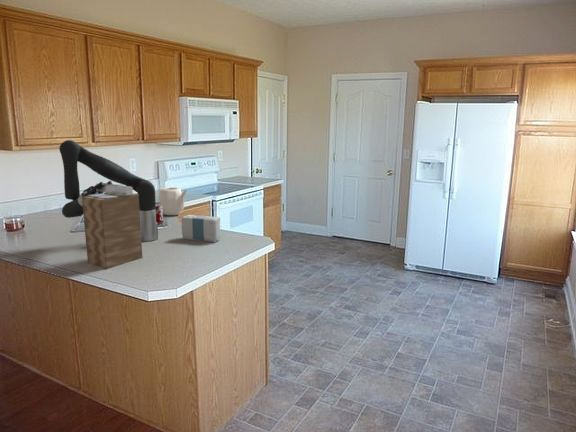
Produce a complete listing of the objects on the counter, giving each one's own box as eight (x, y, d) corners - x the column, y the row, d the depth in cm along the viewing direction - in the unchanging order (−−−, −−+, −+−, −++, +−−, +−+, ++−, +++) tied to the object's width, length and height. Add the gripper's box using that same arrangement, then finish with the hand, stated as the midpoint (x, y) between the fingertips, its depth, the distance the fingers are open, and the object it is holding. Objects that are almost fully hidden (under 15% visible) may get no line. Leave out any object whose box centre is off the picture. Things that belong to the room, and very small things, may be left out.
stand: (87, 263, 207) (81, 196, 200) (123, 253, 224) (119, 190, 217) (107, 268, 200) (101, 199, 193) (142, 257, 217) (138, 193, 210)
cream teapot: (179, 218, 303) (178, 191, 299) (152, 214, 316) (150, 187, 312) (195, 214, 316) (194, 188, 312) (168, 210, 329) (167, 185, 325)
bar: (96, 190, 215) (95, 183, 214) (102, 190, 218) (102, 182, 217) (126, 195, 204) (126, 187, 203) (132, 194, 207) (132, 186, 206)
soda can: (152, 224, 285) (151, 206, 282) (152, 222, 291) (151, 204, 288) (163, 224, 286) (162, 205, 284) (163, 221, 293) (162, 204, 290)
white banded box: (181, 239, 250) (180, 205, 246) (189, 236, 258) (187, 202, 253) (215, 243, 244) (214, 207, 240) (221, 239, 252) (221, 205, 247)
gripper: (104, 202, 227) (122, 188, 218) (78, 206, 216) (96, 192, 206) (98, 189, 228) (116, 174, 219) (72, 192, 216) (90, 177, 207)
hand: (106, 183), depth 212 cm, fingers open, 4 cm apart
